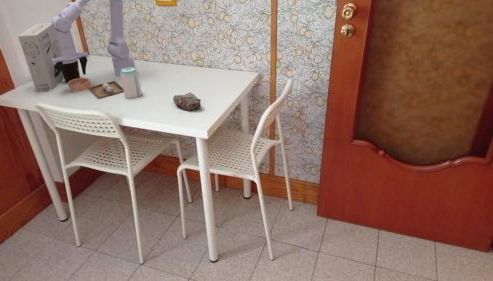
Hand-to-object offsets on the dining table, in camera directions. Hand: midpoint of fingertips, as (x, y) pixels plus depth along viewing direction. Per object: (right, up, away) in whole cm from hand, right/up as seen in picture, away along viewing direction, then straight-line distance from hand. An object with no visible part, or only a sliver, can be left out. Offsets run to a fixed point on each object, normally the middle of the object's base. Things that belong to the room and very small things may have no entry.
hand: (75, 76), depth 168 cm
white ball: (+14, -6, 0) cm, 15 cm away
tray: (+14, -7, 0) cm, 15 cm away
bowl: (0, -5, +4) cm, 6 cm away
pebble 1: (0, -5, +3) cm, 6 cm away
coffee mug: (-6, 0, +14) cm, 15 cm away
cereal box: (-16, -1, +12) cm, 20 cm away
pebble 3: (+17, -8, -4) cm, 19 cm away
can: (+27, -10, -5) cm, 29 cm away
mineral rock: (+51, -15, -15) cm, 55 cm away
